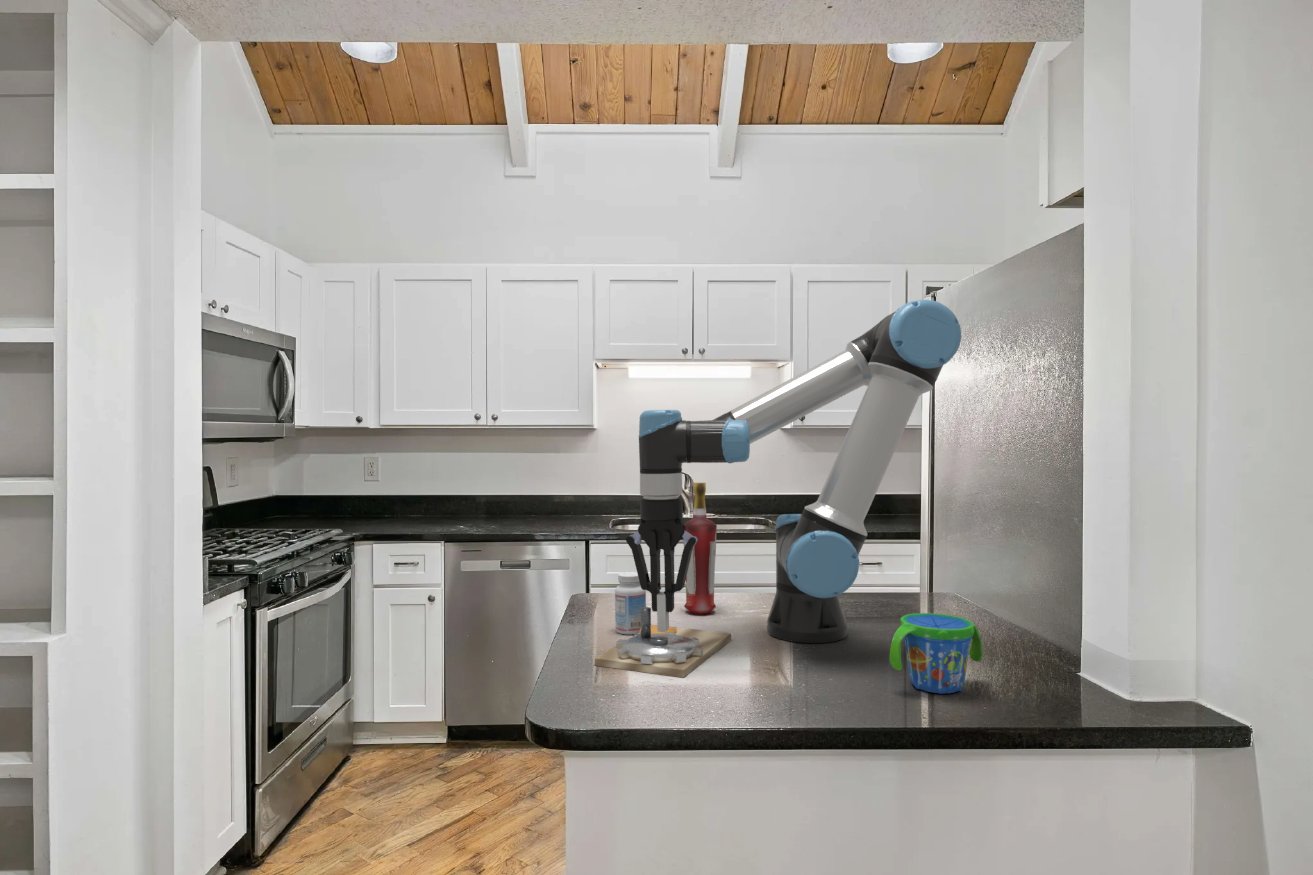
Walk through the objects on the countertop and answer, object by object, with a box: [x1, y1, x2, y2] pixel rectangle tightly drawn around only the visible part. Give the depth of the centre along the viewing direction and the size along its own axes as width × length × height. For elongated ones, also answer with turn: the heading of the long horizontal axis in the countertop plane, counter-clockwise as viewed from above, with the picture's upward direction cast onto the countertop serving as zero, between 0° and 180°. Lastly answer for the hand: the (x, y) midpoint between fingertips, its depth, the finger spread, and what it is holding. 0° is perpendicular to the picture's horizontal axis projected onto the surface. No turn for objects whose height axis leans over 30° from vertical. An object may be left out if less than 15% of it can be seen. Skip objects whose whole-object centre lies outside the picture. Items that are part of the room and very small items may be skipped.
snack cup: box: [888, 612, 984, 695], centre depth 114 cm, size 16×10×10 cm
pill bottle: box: [614, 571, 647, 636], centre depth 147 cm, size 6×6×11 cm
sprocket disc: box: [615, 606, 703, 664], centre depth 129 cm, size 15×15×6 cm
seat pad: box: [640, 624, 677, 634], centre depth 142 cm, size 7×7×1 cm
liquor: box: [683, 481, 718, 616], centre depth 163 cm, size 7×7×28 cm
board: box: [594, 626, 732, 678], centre depth 133 cm, size 16×24×1 cm, turn 156°
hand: (663, 629), depth 134 cm, fingers closed
